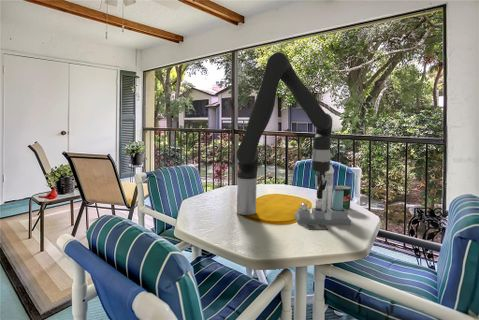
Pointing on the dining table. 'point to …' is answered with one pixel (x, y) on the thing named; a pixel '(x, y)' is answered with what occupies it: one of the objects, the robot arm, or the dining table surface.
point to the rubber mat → (316, 227)
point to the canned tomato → (345, 196)
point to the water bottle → (328, 189)
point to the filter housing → (322, 217)
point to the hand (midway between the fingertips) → (319, 198)
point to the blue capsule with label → (337, 199)
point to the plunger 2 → (318, 205)
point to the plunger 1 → (303, 206)
